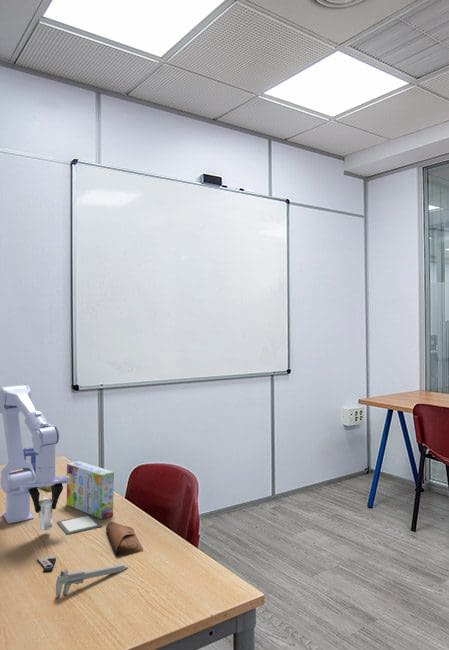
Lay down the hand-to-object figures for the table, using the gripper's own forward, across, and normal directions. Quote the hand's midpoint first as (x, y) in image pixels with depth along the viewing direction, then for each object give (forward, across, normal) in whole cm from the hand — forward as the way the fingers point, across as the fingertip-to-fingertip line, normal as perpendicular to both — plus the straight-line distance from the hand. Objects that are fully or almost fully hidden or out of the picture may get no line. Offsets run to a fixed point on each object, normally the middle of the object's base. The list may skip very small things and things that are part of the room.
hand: (45, 510), depth 155 cm
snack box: (+8, +18, +12) cm, 23 cm away
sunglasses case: (+8, +18, -18) cm, 27 cm away
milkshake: (+6, 0, 0) cm, 6 cm away
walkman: (+8, +11, +63) cm, 64 cm away
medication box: (+8, +11, +45) cm, 47 cm away
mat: (+8, +11, +2) cm, 14 cm away
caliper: (+8, +3, -35) cm, 36 cm away
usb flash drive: (+8, -5, -19) cm, 21 cm away
